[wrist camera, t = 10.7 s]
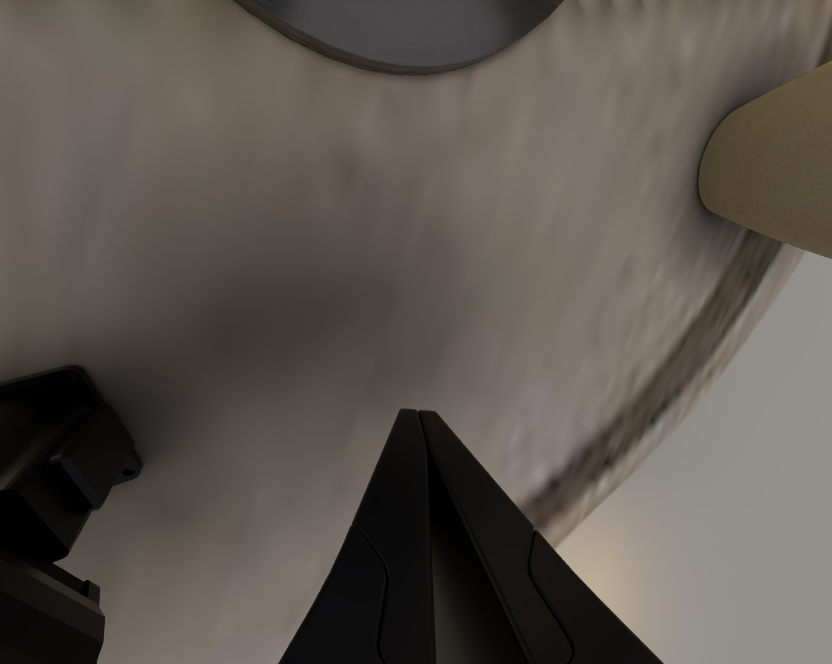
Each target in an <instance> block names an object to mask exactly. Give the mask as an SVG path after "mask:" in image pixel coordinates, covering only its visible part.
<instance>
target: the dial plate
mask: <svg viewBox="0 0 832 664" xmlns="http://www.w3.org/2000/svg"><path fill="white" fill-rule="evenodd" d="M235 1H236V2H237V3H238V4H239V5H241V6H242V7H243V8H244V9H246V10H247V11H248V12H249V13H251V14H252V15H254V16H256V17H257V18H259V19H260V20H262V21H263V22H265V23H266V24H268V25H269V26H271V27H272V28H274V29H276V30H277V31H279V32H280V33H282V34H283V35H285V36H286V37H288V38H289V39H291V40H293V41H296V42H298V43H300V44H302V45H304V46H306V47H308V48H310V49H312V50H314V51H316V52H318V53H320V54H322V55H324V56H326V57H329V58H332V59H335V60H338V61H341V62H344V63H347V64H350V65H353V66H356V67H359V68H362V69H367V70H373V71H378V72H384V73H390V74H403V75H427V74H433V73H439V72H445V71H451V70H456V69H459V68H461V67H464V66H467V65H470V64H473V63H476V62H478V61H481V60H483V59H485V58H487V57H488V56H490V55H492V54H494V53H495V52H497V51H499V50H501V49H503V48H504V47H506V46H508V45H509V44H511V43H513V42H514V41H516V40H518V39H519V38H521V37H523V36H524V35H526V34H527V33H528V32H529V31H531V30H532V29H533V28H534V27H536V26H537V25H538V24H539V23H541V22H542V21H543V20H544V19H546V18H547V17H548V16H549V15H550V14H551V13H552V12H553V11H554V10H555V9H556V8H557V7H558V6H559V5H560V4H561V3H562V2H563V1H564V0H235Z"/></svg>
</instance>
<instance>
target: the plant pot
mask: <svg viewBox="0 0 832 664" xmlns="http://www.w3.org/2000/svg"><path fill="white" fill-rule="evenodd" d="M698 187H699V194H700V198H701V200H702V202H703V204H704V206H705V207H706V208H707V209H708V210H709V211H711V212H713V213H715V214H717V215H719V216H721V217H723V218H725V219H728V220H730V221H732V222H734V223H736V224H739V225H741V226H743V227H746V228H748V229H751V230H753V231H755V232H758V233H760V234H763V235H765V236H768V237H771V238H773V239H776V240H778V241H781V242H784V243H787V244H789V245H792V246H795V247H798V248H801V249H803V250H806V251H809V252H812V253H815V254H818V255H821V256H824V257H828V258H831V259H832V61H830V62H828V63H826V64H824V65H822V66H820V67H818V68H816V69H814V70H812V71H810V72H808V73H805V74H803V75H801V76H799V77H797V78H795V79H793V80H791V81H789V82H787V83H785V84H783V85H781V86H779V87H777V88H776V89H774V90H772V91H770V92H768V93H766V94H764V95H762V96H760V97H758V98H756V99H754V100H753V101H751V102H749V103H747V104H745V105H743V106H741V107H739V108H738V109H736V110H734V111H733V112H731V113H730V114H729V115H728V116H727V117H726V118H725V119H724V120H723V121H722V122H721V123H720V125H719V126H718V127H717V128H716V130H715V131H714V133H713V135H712V136H711V138H710V140H709V142H708V144H707V147H706V149H705V151H704V154H703V157H702V161H701V164H700V170H699V177H698Z"/></svg>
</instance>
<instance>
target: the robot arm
mask: <svg viewBox="0 0 832 664" xmlns="http://www.w3.org/2000/svg"><path fill="white" fill-rule="evenodd" d="M65 375H72V376H74V377H75V379H76V381H71V380H68V379H67V378H66V377H65ZM133 446H134V441H133V440H132V438H131V437H130V435H129V433H128V432H127V430H126V428H125V427H124V425H123V424H122V422H121V420H120V419H119V417H118V416H117V414H116V412H115V411H114V409H113V407H112V406H111V405H110V404H108V403H106V402H104V401H103V399H102V397H101V396H100V394H99V393H98V391H97V389H96V388H95V386H94V385H93V383H92V381H91V380H90V378H89V377H88V375H87V373H86V372H85V371H84V370H83V369H82V368H80V367H78V366H65V367H61V368H57V369H53V370H49V371H45V372H41V373H37V374H33V375H29V376H25V377H21V378H17V379H13V380H9V381H5V382H1V383H0V664H97V659H98V656H99V653H100V651H101V648H102V645H103V640H104V626H105V616H104V615H103V613H102V611H101V609H100V608H99V600H100V587H99V586H98V585H96V584H94V583H93V582H91V581H89V580H86V581H84V582H83V581H82V580H80V579H78V578H77V577H75V576H73V575H72V574H70V573H68V572H67V571H65V570H63V569H62V568H60V567H58V566H57V565H55V564H53V562H55V561H58V560H60V559H63V558H65V557H66V556H67V555H68V554H69V552H70V550H71V548H72V546H73V545H74V543H75V541H76V539H77V537H78V536H79V534H80V532H81V530H82V528H83V526H84V525H85V523H86V521H87V519H88V517H89V515H90V514H91V512H93V511H96V510H99V509H100V508H101V507H102V505H103V503H104V502H105V500H106V498H107V496H108V494H109V492H110V490H111V488H112V486H115V485H117V484H120V483H123V482H126V481H129V480H132V479H134V478H136V477H138V476H139V475H140V473H141V471H142V468H143V463H142V461H141V460H140V458H139V457H138V455H137V453H136V452H135V450H134V449H133ZM126 468H133V469H134V470H132V471H130V470H127V469H126ZM278 664H664V663H663V662H662V661H661V660H660V659H659V658H658V657H657V656H656V655H655V654H654V653H653V652H652V651H651V650H650V649H649V648H648V647H647V646H646V645H645V644H644V643H643V642H642V641H641V640H640V639H639V638H638V637H637V636H636V635H635V634H634V633H633V632H632V631H631V630H630V629H629V628H628V627H627V626H626V625H625V624H624V623H623V622H622V621H621V620H620V619H619V618H618V617H617V616H616V615H615V614H614V613H613V612H612V611H611V610H610V609H609V608H608V607H607V606H606V605H605V604H604V603H603V602H602V601H601V600H600V599H599V598H598V597H597V596H596V595H595V593H594V592H593V591H592V590H591V589H590V588H589V587H588V586H587V585H586V584H585V583H584V582H583V581H582V580H581V579H580V578H579V577H578V576H577V575H576V574H575V573H574V571H572V569H571V568H570V567H569V566H568V565H567V564H566V563H565V561H564V560H563V559H562V558H561V557H560V556H559V555H558V554H557V553H556V551H555V550H554V549H553V548H552V547H551V546H550V544H549V543H548V542H547V541H546V540H545V539H544V537H543V536H542V535H541V534H540V533H539V532H538V531H537V530H534V526H533V525H532V524H531V522H530V521H529V520H528V519H527V518H526V517H525V515H524V514H523V513H522V512H521V511H520V510H519V508H518V507H517V506H516V505H515V504H514V503H513V501H512V500H511V499H510V498H509V497H508V496H507V494H506V493H505V492H504V491H503V490H502V488H501V487H500V486H499V485H498V484H497V483H496V481H495V480H494V479H493V478H492V477H491V476H490V474H489V473H488V472H487V471H486V470H485V469H484V467H483V466H482V465H481V464H480V463H479V462H478V460H477V459H476V458H475V457H474V456H473V455H472V453H471V452H470V451H469V450H468V449H467V448H466V446H465V445H464V444H463V443H462V442H461V440H460V439H459V438H458V437H457V436H456V435H455V433H454V432H453V431H452V430H451V429H450V428H449V426H448V425H447V424H446V423H445V422H444V421H443V419H442V418H441V417H440V416H439V415H438V414H437V413H436V412H435V411H428V410H419V411H417V410H415V409H404V408H402V409H400V411H399V413H398V415H397V417H396V420H395V422H394V425H393V427H392V429H391V432H390V434H389V436H388V439H387V441H386V444H385V446H384V448H383V451H382V453H381V455H380V458H379V460H378V463H377V465H376V467H375V470H374V472H373V474H372V477H371V479H370V482H369V484H368V486H367V489H366V491H365V493H364V496H363V498H362V501H361V503H360V505H359V508H358V510H357V512H356V515H355V517H354V520H353V522H352V525H351V526H350V528H349V531H348V533H347V536H346V538H345V540H344V543H343V545H342V547H341V549H340V552H339V554H338V556H337V558H336V560H335V562H334V564H333V567H332V569H331V571H330V573H329V575H328V577H327V579H326V580H325V582H324V584H323V586H322V588H321V590H320V592H319V593H318V595H317V597H316V599H315V601H314V603H313V605H312V606H311V608H310V610H309V612H308V613H307V615H306V617H305V619H304V620H303V622H302V624H301V625H300V627H299V629H298V631H297V632H296V634H295V636H294V637H293V639H292V641H291V643H290V644H289V646H288V648H287V650H286V651H285V653H284V655H283V656H282V658H281V660H280V662H279V663H278Z"/></svg>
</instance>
